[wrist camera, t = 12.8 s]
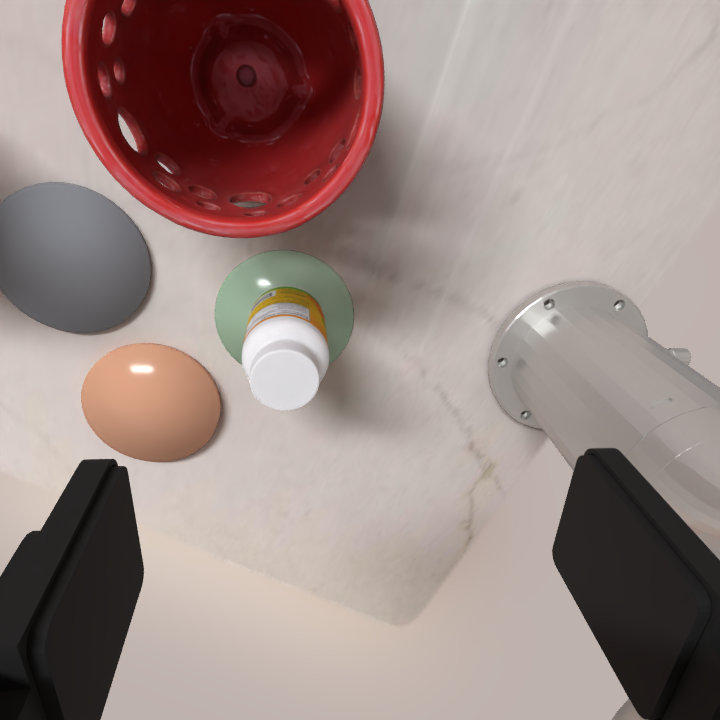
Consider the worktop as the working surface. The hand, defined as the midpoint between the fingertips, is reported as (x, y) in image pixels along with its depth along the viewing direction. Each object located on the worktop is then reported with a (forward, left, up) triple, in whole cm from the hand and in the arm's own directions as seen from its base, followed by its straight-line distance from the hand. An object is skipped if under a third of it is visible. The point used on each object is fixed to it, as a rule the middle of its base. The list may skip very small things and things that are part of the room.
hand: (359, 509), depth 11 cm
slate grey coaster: (+16, +3, -29) cm, 33 cm away
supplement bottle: (+2, +7, -28) cm, 29 cm away
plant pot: (+4, -8, -29) cm, 30 cm away
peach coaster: (+12, +14, -28) cm, 34 cm away
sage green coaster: (+2, +7, -29) cm, 30 cm away
